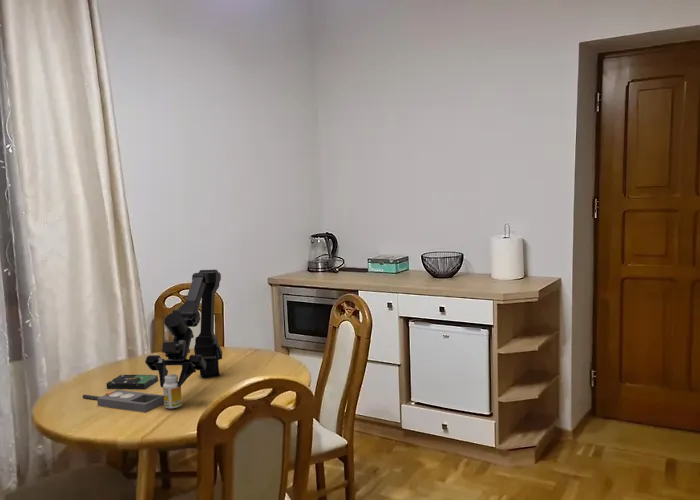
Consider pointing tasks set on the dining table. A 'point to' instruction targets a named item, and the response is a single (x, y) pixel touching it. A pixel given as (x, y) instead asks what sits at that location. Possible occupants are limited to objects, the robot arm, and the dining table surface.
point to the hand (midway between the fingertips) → (170, 386)
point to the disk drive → (132, 382)
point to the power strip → (128, 400)
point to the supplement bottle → (172, 392)
